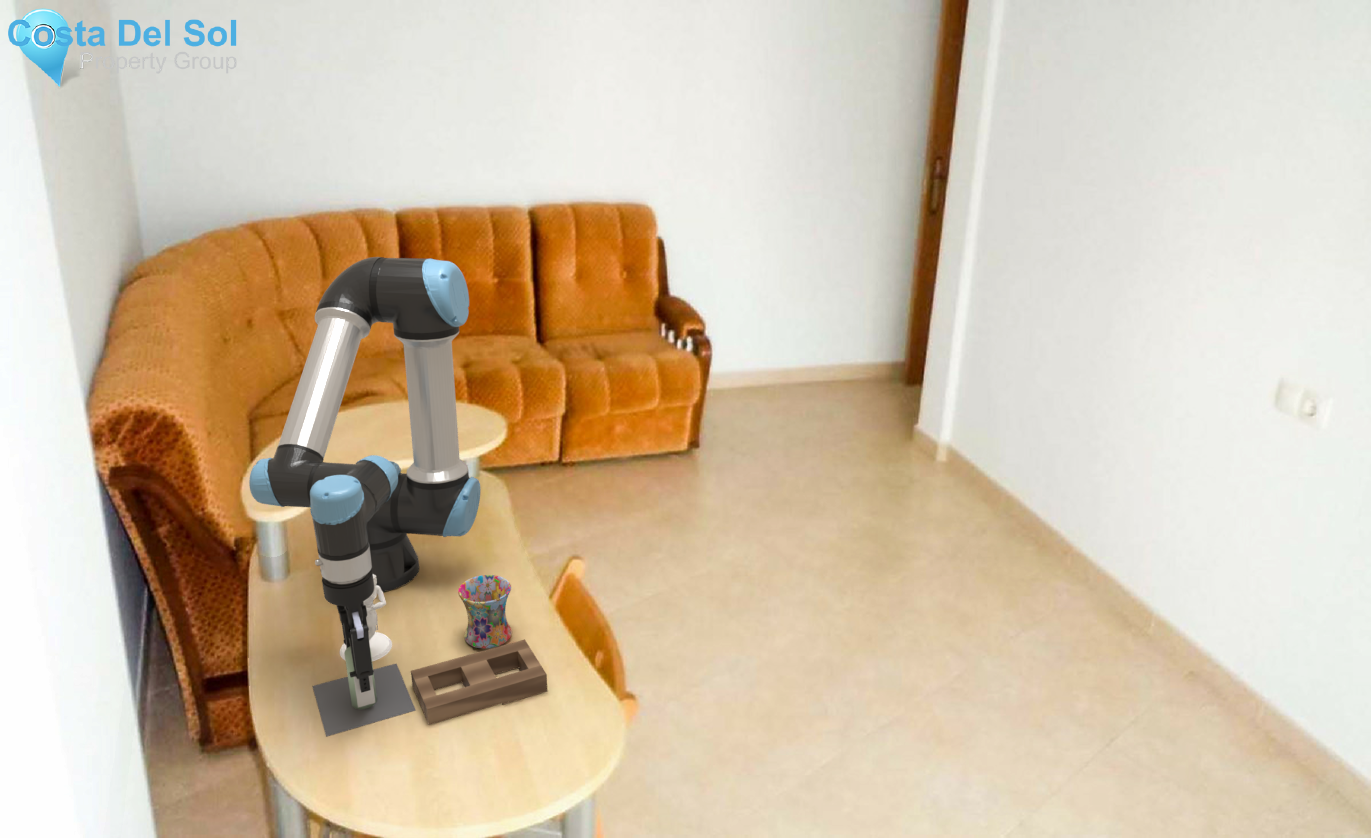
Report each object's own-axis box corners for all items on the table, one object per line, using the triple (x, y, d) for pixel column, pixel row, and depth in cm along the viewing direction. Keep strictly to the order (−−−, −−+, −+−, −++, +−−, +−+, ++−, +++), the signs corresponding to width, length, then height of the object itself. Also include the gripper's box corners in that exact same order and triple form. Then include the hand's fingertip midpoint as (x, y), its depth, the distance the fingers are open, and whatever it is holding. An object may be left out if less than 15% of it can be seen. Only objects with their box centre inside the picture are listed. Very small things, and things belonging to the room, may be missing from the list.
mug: (516, 649, 178) (513, 598, 174) (464, 656, 176) (459, 605, 171) (510, 612, 188) (506, 564, 184) (460, 619, 186) (455, 570, 182)
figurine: (334, 670, 172) (321, 580, 165) (337, 638, 180) (324, 552, 173) (393, 661, 174) (383, 573, 167) (393, 631, 182) (383, 545, 176)
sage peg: (349, 698, 164) (342, 647, 160) (374, 691, 166) (367, 641, 162) (354, 712, 161) (347, 661, 157) (379, 704, 163) (372, 654, 159)
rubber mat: (312, 688, 167) (312, 686, 167) (396, 665, 173) (396, 663, 173) (326, 738, 156) (326, 736, 155) (415, 712, 162) (415, 710, 161)
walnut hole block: (412, 687, 167) (410, 670, 166) (525, 655, 176) (524, 639, 175) (429, 726, 158) (427, 709, 157) (547, 691, 167) (546, 674, 166)
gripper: (312, 553, 159) (331, 673, 168) (331, 606, 145) (349, 733, 154) (360, 542, 162) (376, 661, 171) (383, 593, 149) (398, 719, 158)
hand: (363, 695), depth 163 cm, fingers closed on sage peg, 4 cm apart
